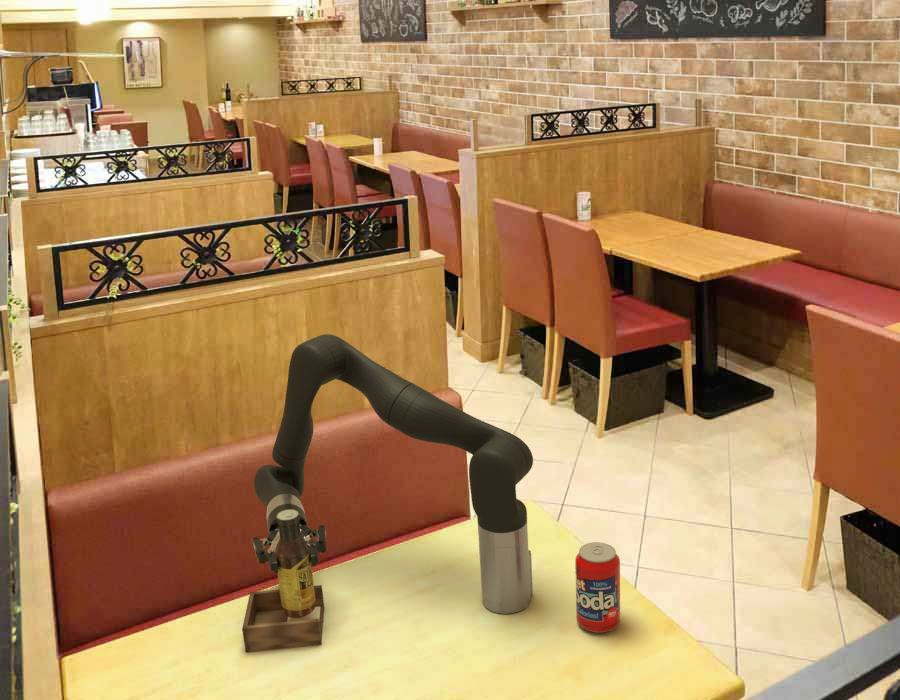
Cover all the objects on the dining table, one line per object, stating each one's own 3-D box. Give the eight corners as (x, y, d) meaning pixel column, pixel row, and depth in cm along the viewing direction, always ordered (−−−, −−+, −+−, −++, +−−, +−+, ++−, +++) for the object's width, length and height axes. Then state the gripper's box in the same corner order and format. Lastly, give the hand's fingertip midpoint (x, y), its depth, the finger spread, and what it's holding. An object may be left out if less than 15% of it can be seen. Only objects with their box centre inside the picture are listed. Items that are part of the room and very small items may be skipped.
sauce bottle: (309, 621, 168) (297, 526, 161) (277, 618, 169) (263, 524, 162) (321, 599, 174) (309, 507, 167) (290, 597, 175) (277, 505, 168)
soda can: (623, 613, 170) (623, 542, 165) (616, 639, 163) (616, 565, 158) (581, 607, 173) (579, 537, 168) (572, 632, 166) (571, 560, 161)
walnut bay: (324, 607, 178) (321, 585, 176) (321, 644, 167) (318, 621, 165) (253, 614, 177) (250, 592, 175) (245, 652, 166) (242, 628, 165)
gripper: (246, 509, 178) (251, 554, 162) (321, 496, 181) (332, 539, 166) (251, 543, 180) (256, 590, 165) (324, 530, 183) (336, 575, 168)
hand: (294, 564), depth 165 cm, fingers closed on sauce bottle, 6 cm apart
